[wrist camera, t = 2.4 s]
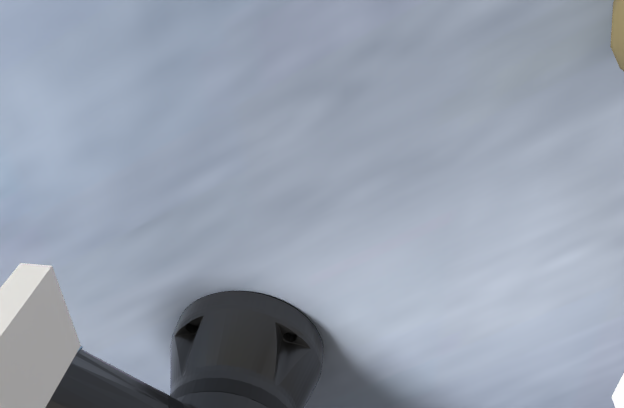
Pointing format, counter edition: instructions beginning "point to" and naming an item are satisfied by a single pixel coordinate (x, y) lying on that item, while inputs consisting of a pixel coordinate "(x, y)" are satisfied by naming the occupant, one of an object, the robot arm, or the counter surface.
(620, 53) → the squeeze bottle
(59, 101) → the counter surface
